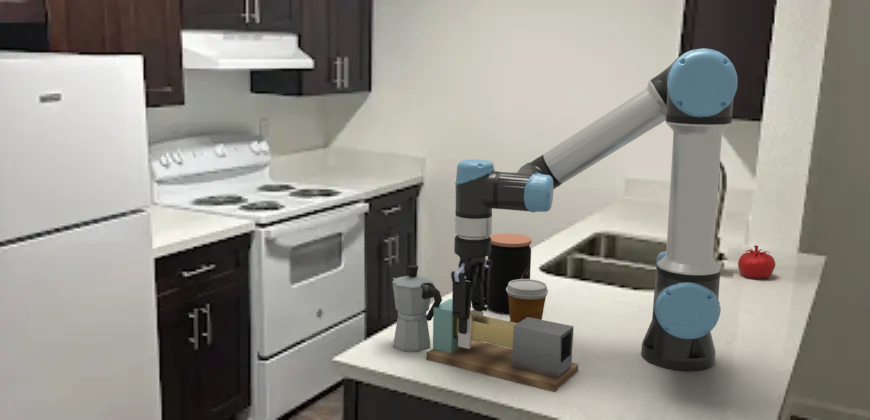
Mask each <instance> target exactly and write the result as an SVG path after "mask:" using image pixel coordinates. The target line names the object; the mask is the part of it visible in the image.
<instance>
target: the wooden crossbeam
mask: <svg viewBox="0 0 870 420" xmlns="http://www.w3.org/2000/svg"><path fill="white" fill-rule="evenodd" d="M470 318H472V331H471V339H473V340H477V341H481V342H485V343H489V344H493V345H498V346H502V347H506V348H511V349H513V327H514V325H516V324H517V323H514V322H510V320H504V319H500V318H494V317H490V316H486V315H483V316H481V315H477V314H472V313H470ZM458 325H459V318H458V317H454V332H453V335H456V336H458Z"/></svg>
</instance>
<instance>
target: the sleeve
mask: <svg viewBox="0 0 870 420" xmlns="http://www.w3.org/2000/svg"><path fill="white" fill-rule="evenodd" d="M573 339H574V326H573V325H570V324H569V325H568V324H564V323H559V322H555V321H554V322H553V321H550V320H546V319H545V320H544V319H542V320H540V319H535V318H531V317H527V318H525V319H524V320H522V321H521V322H519V323H517V324H516V325H514V327H513V352H512V368H515V369H519V370H523V371H527V372H531V373H535V374H539V375H544V376H548V377H552V378H556V379H559V378H560V377H561V376H562V375H564V374H565V373H566V372H567V371H568V370H569V369H571V364H572V363H573V362H572V358H573V345H574V344H573V342H574V340H573Z"/></svg>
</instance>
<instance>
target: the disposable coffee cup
mask: <svg viewBox="0 0 870 420" xmlns="http://www.w3.org/2000/svg"><path fill="white" fill-rule="evenodd" d="M506 291H507V294H508V300H509V311H510V314H509V321H510V322H514V323H519V322H521V321H522V320H524V319H525V318H527V317H531V318H535V319H540V320H543V315H544V310H545V304H546V298H547V295H548V294H549V289H548V287H547V284H546V283H545V282H544V281H541V280H537V279H536V280H535V279H531V278H530V279H517V280H512V281H510V282H509V283H508V287H507V288H506Z"/></svg>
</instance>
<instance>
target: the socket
mask: <svg viewBox="0 0 870 420" xmlns="http://www.w3.org/2000/svg"><path fill="white" fill-rule="evenodd" d="M432 321H433V322H432V349H435V350H439V351H444V352H448V353H452V352H454V351H456V350H457V349H459V348H461V347H459V346H458V336H456V335H453V332H454V317H453V316H452V298H450V299H448V300H445V301H443V302H441V303H440V305H439V306H437V307H434V308H433V317H432Z"/></svg>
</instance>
